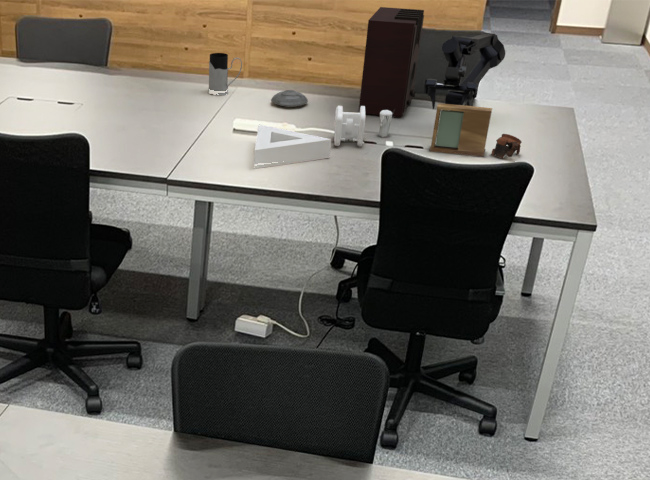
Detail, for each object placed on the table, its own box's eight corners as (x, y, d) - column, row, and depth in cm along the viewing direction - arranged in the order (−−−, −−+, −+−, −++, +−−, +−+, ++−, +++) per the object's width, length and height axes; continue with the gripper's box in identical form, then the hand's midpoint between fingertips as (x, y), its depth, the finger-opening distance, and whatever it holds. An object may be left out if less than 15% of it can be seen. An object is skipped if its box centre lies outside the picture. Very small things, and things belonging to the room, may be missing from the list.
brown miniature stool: (484, 154, 348) (495, 131, 346) (505, 165, 351) (516, 142, 349) (501, 155, 337) (512, 132, 335) (522, 166, 340) (534, 143, 338)
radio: (358, 114, 385) (368, 17, 364) (370, 97, 406) (380, 4, 384) (405, 119, 381) (419, 21, 359) (415, 101, 401) (428, 7, 380)
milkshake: (391, 138, 361) (395, 110, 355) (376, 137, 362) (380, 109, 356) (391, 134, 364) (395, 106, 358) (377, 133, 365) (380, 105, 359)
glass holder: (206, 90, 413) (206, 52, 404) (239, 89, 415) (240, 51, 406) (208, 96, 406) (209, 57, 397) (242, 95, 408) (244, 56, 399)
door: (438, 139, 354) (443, 105, 347) (463, 142, 352) (469, 107, 344) (435, 145, 348) (440, 110, 341) (461, 148, 346) (467, 113, 339)
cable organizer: (362, 149, 350) (365, 116, 343) (332, 148, 351) (335, 115, 344) (361, 137, 362) (365, 104, 355) (333, 135, 363) (336, 103, 356)
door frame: (431, 146, 353) (438, 102, 343) (485, 152, 348) (493, 107, 338) (429, 151, 349) (436, 106, 339) (483, 156, 344) (492, 111, 334)
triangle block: (253, 168, 333) (254, 150, 329) (221, 147, 352) (221, 129, 348) (329, 157, 343) (331, 139, 339) (293, 137, 362) (295, 119, 358)
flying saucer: (315, 105, 395) (316, 91, 392) (286, 111, 389) (287, 97, 385) (291, 97, 405) (292, 83, 402) (263, 102, 399) (264, 88, 395)
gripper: (429, 54, 347) (420, 94, 346) (482, 59, 342) (473, 99, 341) (429, 72, 358) (420, 112, 356) (480, 77, 353) (472, 117, 351)
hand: (446, 109), depth 351 cm, fingers open, 9 cm apart
